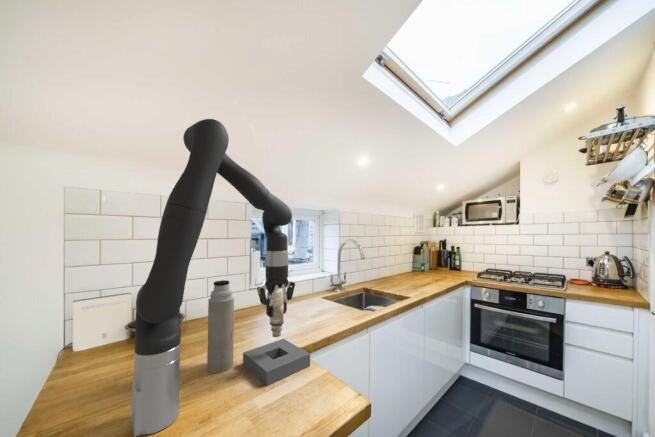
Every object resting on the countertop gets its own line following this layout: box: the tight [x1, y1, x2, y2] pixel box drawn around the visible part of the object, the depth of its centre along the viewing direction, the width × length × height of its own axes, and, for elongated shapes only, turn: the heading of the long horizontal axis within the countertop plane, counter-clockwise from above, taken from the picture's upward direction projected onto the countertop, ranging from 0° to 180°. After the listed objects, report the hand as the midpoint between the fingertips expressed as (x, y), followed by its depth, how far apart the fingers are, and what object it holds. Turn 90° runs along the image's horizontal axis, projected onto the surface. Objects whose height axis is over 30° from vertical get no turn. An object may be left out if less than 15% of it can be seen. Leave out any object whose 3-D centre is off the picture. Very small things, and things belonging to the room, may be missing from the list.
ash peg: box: [269, 287, 285, 338], centre depth 86 cm, size 4×4×16 cm
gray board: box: [242, 338, 311, 387], centre depth 85 cm, size 16×16×4 cm
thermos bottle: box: [206, 279, 235, 374], centre depth 85 cm, size 8×8×28 cm
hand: (276, 314), depth 86 cm, fingers closed on ash peg, 4 cm apart
